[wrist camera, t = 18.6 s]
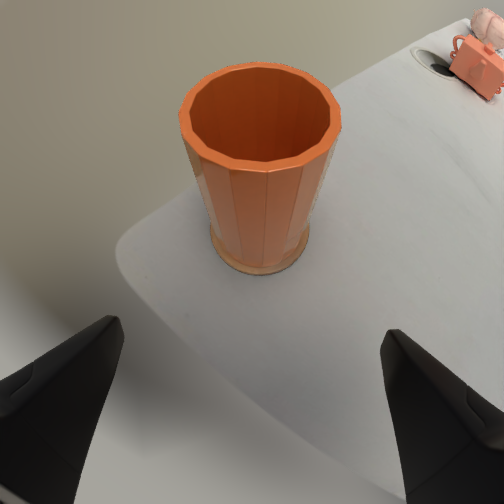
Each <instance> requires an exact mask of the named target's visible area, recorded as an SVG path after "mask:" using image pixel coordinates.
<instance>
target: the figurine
mask: <svg viewBox="0 0 504 504" xmlns="http://www.w3.org/2000/svg"><path fill="white" fill-rule="evenodd" d="M474 11H475V10H474ZM471 29H472V31H473V32H474V33H475V35H476V37H477V39H478V40H479V41H480V42H482V43H483V44H484V45H485V44H488V43H489V42H490V43H492V44H493V47H492V48H493V49H494V51H495V50H497V49H503V48H504V19H502V18H501V17H500V16H498V15H497V14H495V13H493V12H492V11H491V10H488V9H487V8H482V9H480V10H477V11H476V12H475V13H474V15H473V17H472V19H471Z"/></svg>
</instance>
